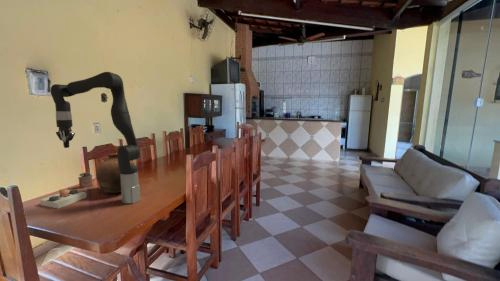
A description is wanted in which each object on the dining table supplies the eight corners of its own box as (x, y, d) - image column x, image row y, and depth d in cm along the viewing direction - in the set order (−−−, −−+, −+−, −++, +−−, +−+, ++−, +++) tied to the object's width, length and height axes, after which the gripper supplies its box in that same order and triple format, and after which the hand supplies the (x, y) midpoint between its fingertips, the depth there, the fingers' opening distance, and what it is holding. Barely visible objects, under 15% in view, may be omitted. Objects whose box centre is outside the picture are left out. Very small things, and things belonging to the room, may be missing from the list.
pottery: (121, 199, 144) (119, 158, 140) (88, 195, 148) (85, 155, 145) (145, 186, 166) (143, 151, 162) (115, 183, 170) (113, 148, 167)
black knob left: (60, 201, 135) (60, 196, 135) (53, 204, 131) (52, 199, 131) (55, 200, 136) (55, 195, 136) (47, 203, 133) (47, 198, 132)
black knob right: (79, 195, 146) (79, 190, 145) (73, 197, 142) (72, 192, 141) (74, 194, 147) (74, 189, 146) (68, 196, 143) (67, 191, 142)
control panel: (86, 197, 145) (86, 192, 145) (57, 208, 130) (57, 203, 129) (70, 194, 149) (70, 189, 148) (40, 204, 133) (40, 199, 133)
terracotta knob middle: (70, 194, 140) (69, 189, 140) (63, 197, 136) (62, 191, 136) (65, 193, 141) (64, 188, 141) (57, 196, 137) (57, 190, 137)
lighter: (91, 184, 167) (90, 170, 165) (93, 185, 165) (92, 171, 163) (78, 188, 160) (77, 173, 158) (80, 189, 158) (79, 174, 157)
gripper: (78, 119, 145) (80, 147, 148) (62, 118, 149) (64, 145, 151) (65, 119, 138) (68, 149, 141) (49, 118, 142) (52, 147, 144)
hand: (66, 147), depth 146 cm, fingers closed
